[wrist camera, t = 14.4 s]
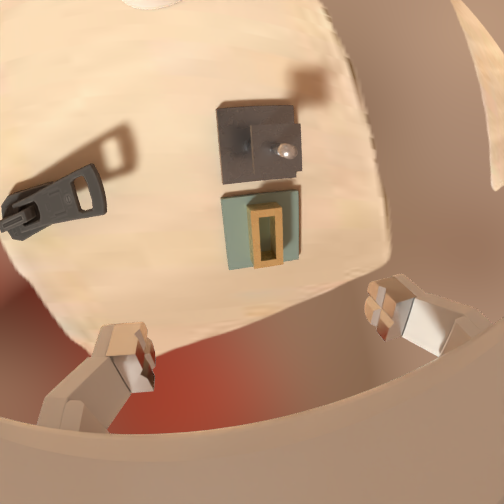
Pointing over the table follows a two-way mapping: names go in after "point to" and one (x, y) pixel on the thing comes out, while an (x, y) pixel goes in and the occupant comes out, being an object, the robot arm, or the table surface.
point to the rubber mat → (238, 226)
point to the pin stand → (258, 143)
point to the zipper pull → (51, 204)
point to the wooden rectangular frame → (276, 234)
